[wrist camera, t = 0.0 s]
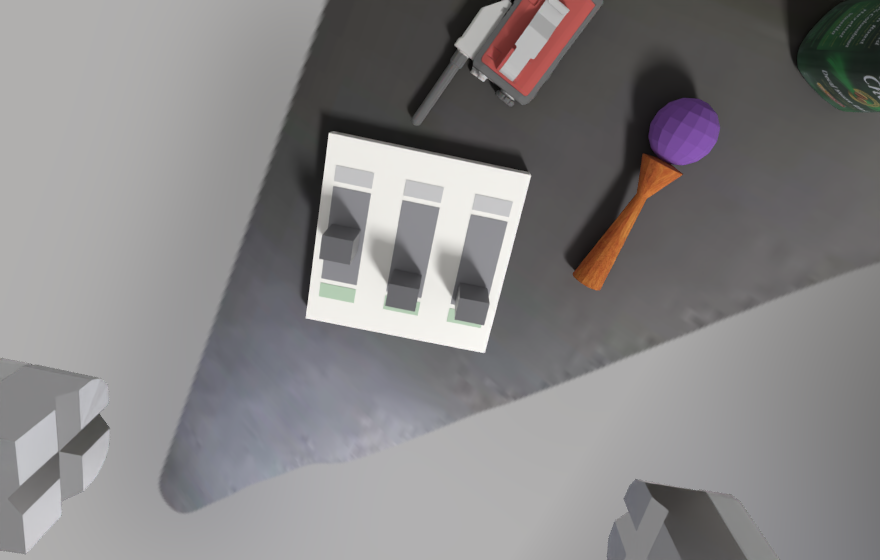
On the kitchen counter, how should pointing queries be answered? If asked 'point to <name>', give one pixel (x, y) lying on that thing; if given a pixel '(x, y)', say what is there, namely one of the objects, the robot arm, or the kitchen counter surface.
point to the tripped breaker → (339, 244)
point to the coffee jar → (845, 56)
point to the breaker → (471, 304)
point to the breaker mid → (403, 290)
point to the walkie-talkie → (515, 46)
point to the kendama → (655, 175)
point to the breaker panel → (414, 237)
